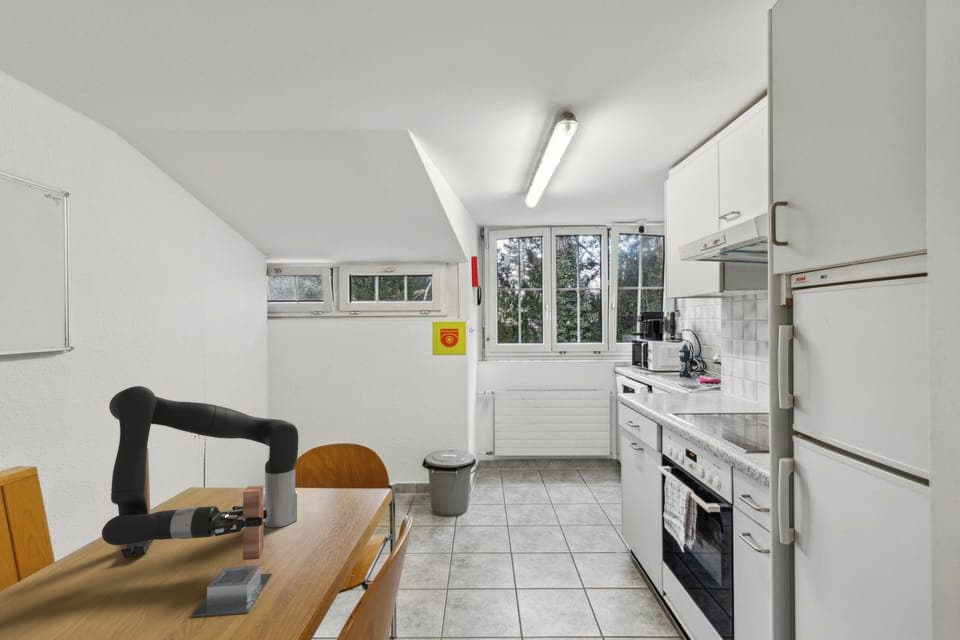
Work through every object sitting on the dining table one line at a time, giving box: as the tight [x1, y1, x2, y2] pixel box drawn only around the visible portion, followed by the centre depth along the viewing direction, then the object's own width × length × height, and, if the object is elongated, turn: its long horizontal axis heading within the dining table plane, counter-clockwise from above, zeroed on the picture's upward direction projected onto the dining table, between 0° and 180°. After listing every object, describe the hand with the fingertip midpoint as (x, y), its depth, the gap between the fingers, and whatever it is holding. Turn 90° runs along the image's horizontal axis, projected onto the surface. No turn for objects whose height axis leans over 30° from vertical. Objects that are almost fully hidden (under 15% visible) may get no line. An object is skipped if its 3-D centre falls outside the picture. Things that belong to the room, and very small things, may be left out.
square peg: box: [242, 485, 265, 561], centre depth 123 cm, size 4×4×18 cm
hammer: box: [120, 447, 154, 558], centre depth 133 cm, size 20×5×30 cm, turn 24°
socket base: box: [191, 564, 273, 618], centre depth 110 cm, size 16×12×5 cm
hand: (264, 517), depth 124 cm, fingers closed on square peg, 4 cm apart
